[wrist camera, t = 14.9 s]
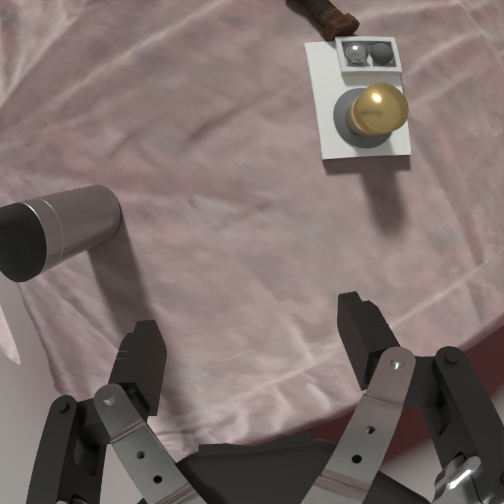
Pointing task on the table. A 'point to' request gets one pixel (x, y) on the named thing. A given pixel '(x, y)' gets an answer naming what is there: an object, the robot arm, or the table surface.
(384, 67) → the plate
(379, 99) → the ball
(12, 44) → the table surface
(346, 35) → the bolt
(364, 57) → the steel ball
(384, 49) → the rubber ball
